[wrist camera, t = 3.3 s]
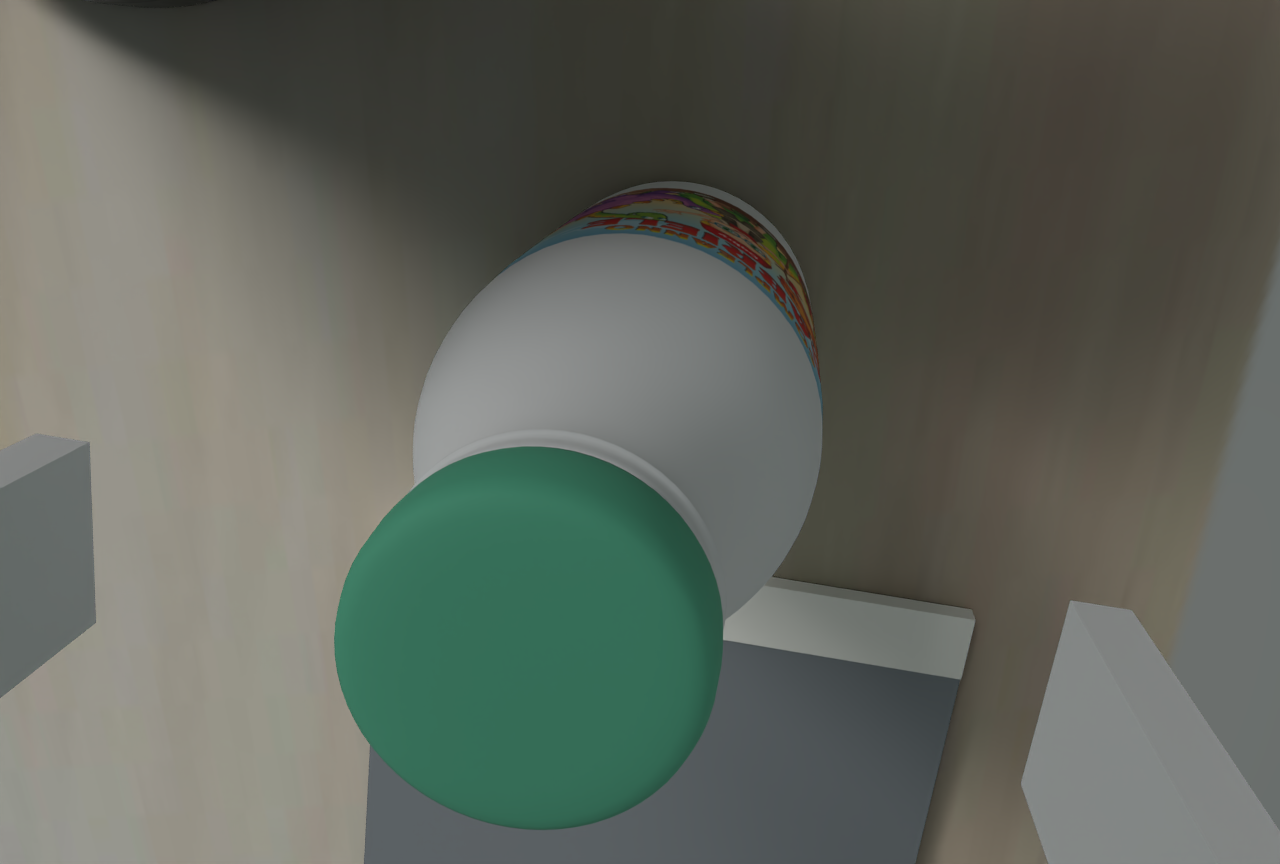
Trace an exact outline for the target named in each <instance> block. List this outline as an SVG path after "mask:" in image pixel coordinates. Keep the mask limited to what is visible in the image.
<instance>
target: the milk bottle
mask: <svg viewBox="0 0 1280 864" xmlns="http://www.w3.org/2000/svg"><path fill="white" fill-rule="evenodd" d="M822 413H823V402H822V392H821V382H820V372H819V362H818V352H817V344H816V336H815V329H814V321H813V315H812V308H811V302H810V297H809V292H808V289H807V286H806V282H805V279H804V276H803V273H802V270H801V268H800V266H799V263H798V261H797V259H796V257H795V255H794V253H793V251H792V250H791V248H790V246H789V245H788V243H787V242H786V240H785V239H784V238H783V236H782V235H781V234H780V232H779V231H778V230H777V229H776V228H775V227H774V225H773V224H772V223H771V222H770V221H768V220H767V219H766V218H765V217H764V216H763V215H762V214H761V213H759V212H758V211H757V210H756V209H754V208H753V207H752V206H750V205H749V204H747V203H745V202H744V201H742V200H741V199H739V198H737V197H735V196H733V195H731V194H729V193H727V192H724V191H721V190H719V189H716V188H713V187H709V186H706V185H702V184H696V183H690V182H679V181H664V182H654V183H646V184H642V185H638V186H634V187H631V188H628V189H625V190H622V191H619V192H617V193H615V194H613V195H611V196H608V197H606V198H604V199H602V200H600V201H599V202H597V203H595V204H594V205H592V206H590V207H589V208H587V209H586V210H584V211H583V212H581V213H580V214H578V215H577V216H575V217H574V218H572V219H571V220H570V221H568V222H567V223H565V224H564V225H562V226H561V227H560V228H558V229H557V230H555V231H554V232H552V233H551V234H550V235H548V236H547V237H546V238H544V239H543V240H542V241H540V242H539V243H538V244H536V245H535V246H534V247H532V248H531V249H530V250H528V251H527V252H526V253H524V254H523V255H522V256H520V257H519V258H518V259H516V260H515V261H514V262H512V263H511V264H510V265H508V266H507V267H506V268H505V269H504V270H503V271H502V272H501V273H500V274H499V275H498V276H497V277H495V278H494V279H493V280H492V281H491V282H490V283H489V284H488V285H487V286H486V287H485V288H484V289H483V290H482V291H481V292H480V293H478V294H477V295H476V296H475V297H474V299H473V300H472V301H471V302H470V303H469V304H468V305H467V307H466V308H465V309H464V310H463V311H462V313H461V314H460V316H459V317H458V318H457V320H456V321H455V323H454V324H453V326H452V327H451V329H450V330H449V332H448V334H447V335H446V337H445V339H444V340H443V342H442V344H441V346H440V347H439V349H438V351H437V353H436V355H435V357H434V359H433V361H432V364H431V366H430V368H429V371H428V373H427V376H426V379H425V383H424V386H423V389H422V393H421V396H420V400H419V403H418V408H417V413H416V418H415V426H414V437H413V472H414V480H415V484H414V486H413V487H412V488H411V490H410V491H409V492H408V494H407V495H406V496H405V497H404V498H403V499H402V500H401V501H400V502H398V503H397V504H396V505H395V506H394V507H393V508H392V510H391V511H390V512H389V513H388V514H387V515H386V516H385V517H384V518H383V520H382V521H381V522H380V524H379V525H378V526H377V528H376V529H375V530H374V532H373V533H372V534H371V536H370V537H369V539H368V540H367V541H366V543H365V544H364V545H363V547H362V548H361V550H360V551H359V553H358V555H357V557H356V558H355V560H354V562H353V564H352V566H351V568H350V571H349V573H348V575H347V578H346V580H345V583H344V587H343V590H342V593H341V597H340V602H339V606H338V611H337V617H336V622H335V636H334V644H335V660H336V667H337V673H338V677H339V681H340V685H341V689H342V692H343V694H344V697H345V700H346V703H347V705H348V707H349V710H350V712H351V714H352V716H353V718H354V720H355V722H356V723H357V725H358V727H359V729H360V730H361V732H362V734H363V735H364V737H365V738H366V739H367V741H368V742H369V744H370V745H371V746H372V748H373V749H374V750H375V751H376V753H377V754H378V755H379V756H380V757H381V758H382V760H383V761H384V762H385V763H386V764H387V765H388V766H389V767H390V768H391V769H392V770H393V771H394V772H395V773H396V774H397V775H399V776H400V777H401V778H402V779H403V780H405V781H406V782H407V783H408V784H409V785H411V786H412V787H414V788H415V789H416V790H418V791H419V792H421V793H422V794H424V795H425V796H427V797H428V798H430V799H432V800H434V801H435V802H437V803H439V804H440V805H443V806H445V807H447V808H449V809H451V810H453V811H455V812H457V813H460V814H462V815H465V816H468V817H470V818H473V819H476V820H480V821H483V822H486V823H490V824H494V825H499V826H504V827H510V828H518V829H527V830H556V829H566V828H574V827H580V826H584V825H588V824H593V823H596V822H599V821H602V820H605V819H609V818H611V817H614V816H616V815H618V814H620V813H623V812H625V811H627V810H629V809H631V808H632V807H634V806H636V805H638V804H640V803H641V802H643V801H644V800H646V799H647V798H648V797H650V796H651V795H653V794H654V793H655V792H656V791H658V790H659V789H660V788H661V787H662V786H663V785H665V784H666V783H667V782H668V781H669V780H670V778H671V777H672V776H673V775H674V774H675V773H676V772H677V771H678V770H679V768H680V767H681V766H682V764H683V763H684V762H685V760H686V759H687V758H688V756H689V755H690V753H691V752H692V750H693V749H694V747H695V746H696V744H697V742H698V741H699V739H700V737H701V736H702V734H703V731H704V729H705V727H706V725H707V723H708V720H709V718H710V714H711V711H712V708H713V705H714V701H715V696H716V691H717V686H718V681H719V676H720V671H721V665H722V654H723V630H724V625H725V620H726V619H727V618H728V617H730V616H731V615H732V614H734V613H735V612H737V611H738V610H739V609H740V608H741V607H742V606H743V605H745V604H746V603H747V602H748V601H749V600H750V599H751V598H752V597H753V596H754V595H755V594H756V593H757V592H758V591H759V590H760V589H761V588H762V587H763V586H764V585H765V584H766V583H767V582H768V580H769V579H770V578H771V577H772V576H773V574H774V573H775V572H776V570H777V569H778V567H779V566H780V565H781V563H782V562H783V560H784V559H785V557H786V555H787V554H788V552H789V550H790V549H791V547H792V545H793V544H794V542H795V540H796V538H797V537H798V535H799V533H800V530H801V528H802V526H803V524H804V521H805V519H806V516H807V513H808V510H809V507H810V504H811V501H812V498H813V494H814V491H815V487H816V483H817V479H818V474H819V470H820V463H821V454H822Z"/></svg>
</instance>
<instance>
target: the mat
mask: <svg viewBox="0 0 1280 864" xmlns="http://www.w3.org/2000/svg"><path fill="white" fill-rule="evenodd" d="M975 621H976V620H975V617H974V614H973V612H972V609H966V608H960V607H954V606H948V605H942V604H935V603H929V602H923V601H917V600H911V599H905V598H898V597H892V596H886V595H880V594H874V593H868V592H862V591H855V590H849V589H843V588H837V587H831V586H825V585H818V584H812V583H806V582H800V581H794V580H788V579H782V578H775V577H771V578H770V579H769V580H768V582H767V583H766V584H765V585H764V586H763V587H762V588H761V589H760V590H759V591H758V592H757V593H756V594H755V595H754V596H753V597H752V598H751V599H750V600H749V601H748V602H747V603H746V604H745V605H743V606H742V607H741V608H740V609H739V610H738V611H737V612H735V613H734V614H732V615H731V616H730V617H728V618H727V619H726V620H725V625H724V630H723V654H722V665H721V671H720V676H719V681H718V686H717V691H716V696H715V701H714V705H713V708H712V711H711V714H710V718H709V720H708V723H707V725H706V727H705V729H704V731H703V734H702V736H701V737H700V739H699V741H698V742H697V744H696V746H695V747H694V749H693V750H692V752H691V753H690V755H689V756H688V758H687V759H686V760H685V762H684V763H683V764H682V766H681V767H680V768H679V770H678V771H677V772H676V773H675V774H674V775H673V776H672V777H671V778H670V780H669V781H668V782H667V783H666V784H665V785H663V786H662V787H661V788H660V789H659V790H658V791H656V792H655V793H654V794H653V795H651V796H650V797H648V798H647V799H646V800H644V801H643V802H641V803H640V804H638V805H636V806H634V807H632V808H631V809H629V810H627V811H625V812H623V813H620V814H618V815H616V816H614V817H611V818H609V819H605V820H602V821H599V822H596V823H593V824H588V825H584V826H580V827H574V828H566V829H556V830H527V829H518V828H510V827H504V826H499V825H494V824H490V823H486V822H483V821H480V820H476V819H473V818H470V817H468V816H465V815H462V814H460V813H457V812H455V811H453V810H451V809H449V808H447V807H445V806H443V805H440V804H439V803H437V802H435V801H434V800H432V799H430V798H428V797H427V796H425V795H424V794H422V793H421V792H419V791H418V790H416V789H415V788H414V787H412V786H411V785H409V784H408V783H407V782H406V781H405V780H403V779H402V778H401V777H400V776H399V775H397V774H396V773H395V772H394V771H393V770H392V769H391V768H390V767H389V766H388V765H387V764H386V763H385V762H384V761H383V760H382V758H381V757H380V756H379V755H378V754H377V753H376V751H375V750H374V749H373V748H372V746H371V745H370V758H369V777H368V796H367V816H366V835H365V855H364V864H915V863H916V859H917V855H918V850H919V846H920V842H921V838H922V834H923V830H924V826H925V822H926V818H927V814H928V809H929V805H930V801H931V797H932V793H933V789H934V785H935V781H936V777H937V773H938V768H939V764H940V760H941V756H942V752H943V748H944V744H945V740H946V736H947V732H948V727H949V723H950V719H951V715H952V711H953V707H954V703H955V699H956V695H957V691H958V686H959V682H960V680H961V678H962V674H963V670H964V666H965V662H966V658H967V653H968V649H969V645H970V641H971V637H972V633H973V629H974V625H975Z"/></svg>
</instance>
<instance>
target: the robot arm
mask: <svg viewBox="0 0 1280 864" xmlns="http://www.w3.org/2000/svg"><path fill="white" fill-rule="evenodd" d="M85 1H90V2H97V3H106V4H115V5H124V6H135V7H147V8H169V7H182V6H190V5H196V4H202V3H207V2H211V1H215V0H85ZM95 623H96V610H95V582H94V554H93V526H92V497H91V469H90V442H86V441H80V440H73V439H67V438H61V437H55V436H49V435H42V434H34V435H32V436H30V437H28V438H26V439H24V440H22V441H19V442H17V443H15V444H13V445H11V446H9V447H7V448H5V449H2V450H0V698H1V697H2V696H3V695H5V694H6V693H7V692H9V691H10V690H11V689H12V688H14V687H15V686H16V685H17V684H19V683H20V682H21V681H22V680H24V679H25V678H26V677H28V676H29V675H30V674H31V673H33V672H34V671H35V670H36V669H38V668H39V667H40V666H41V665H43V664H44V663H45V662H47V661H48V660H49V659H50V658H52V657H53V656H54V655H55V654H57V653H58V652H59V651H60V650H62V649H63V648H64V647H66V646H67V645H68V644H69V643H71V642H72V641H73V640H74V639H76V638H77V637H78V636H80V635H81V634H82V633H83V632H85V631H86V630H87V629H88V628H90V627H91V626H92V625H93V624H95ZM1021 786H1022V789H1023V792H1024V795H1025V798H1026V800H1027V803H1028V806H1029V809H1030V812H1031V815H1032V818H1033V821H1034V824H1035V827H1036V829H1037V832H1038V835H1039V838H1040V841H1041V844H1042V847H1043V850H1044V853H1045V856H1046V858H1047V861H1048V864H1280V831H1279V829H1278V828H1277V826H1276V825H1275V823H1274V822H1273V820H1272V819H1271V817H1270V816H1269V814H1268V813H1267V811H1266V810H1265V808H1264V807H1263V805H1262V804H1261V802H1260V801H1259V799H1258V798H1257V796H1256V795H1255V793H1254V792H1253V790H1252V789H1251V787H1250V786H1249V784H1248V783H1247V781H1246V780H1245V778H1244V777H1243V775H1242V774H1241V773H1240V771H1239V769H1238V768H1237V766H1236V765H1235V763H1234V762H1233V761H1232V759H1231V757H1230V756H1229V754H1228V753H1227V751H1226V750H1225V749H1224V747H1223V746H1222V744H1221V743H1220V741H1219V740H1218V738H1217V737H1216V735H1215V734H1214V732H1213V731H1212V729H1211V728H1210V726H1209V725H1208V723H1207V722H1206V720H1205V719H1204V717H1203V716H1202V714H1201V713H1200V711H1199V710H1198V708H1197V707H1196V705H1195V704H1194V702H1193V701H1192V699H1191V698H1190V696H1189V695H1188V693H1187V692H1186V690H1185V689H1184V687H1183V686H1182V684H1181V683H1180V681H1179V680H1178V678H1177V677H1176V675H1175V674H1174V672H1173V671H1172V669H1171V668H1170V666H1169V665H1168V663H1167V662H1166V660H1165V659H1164V657H1163V656H1162V654H1161V653H1160V651H1159V650H1158V648H1157V647H1156V645H1155V644H1154V642H1153V641H1152V639H1151V638H1150V636H1149V635H1148V633H1147V632H1146V630H1145V629H1144V627H1143V626H1142V624H1141V623H1140V621H1139V620H1138V619H1137V617H1136V616H1135V614H1134V613H1133V611H1132V610H1128V609H1122V608H1115V607H1109V606H1103V605H1097V604H1091V603H1084V602H1078V601H1072V600H1070V603H1069V607H1068V611H1067V615H1066V618H1065V622H1064V626H1063V629H1062V633H1061V637H1060V640H1059V644H1058V648H1057V651H1056V655H1055V659H1054V663H1053V666H1052V670H1051V674H1050V677H1049V681H1048V685H1047V688H1046V692H1045V696H1044V699H1043V703H1042V707H1041V711H1040V714H1039V718H1038V722H1037V725H1036V729H1035V733H1034V736H1033V740H1032V744H1031V747H1030V751H1029V755H1028V759H1027V762H1026V766H1025V770H1024V773H1023V777H1022V781H1021Z"/></svg>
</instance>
